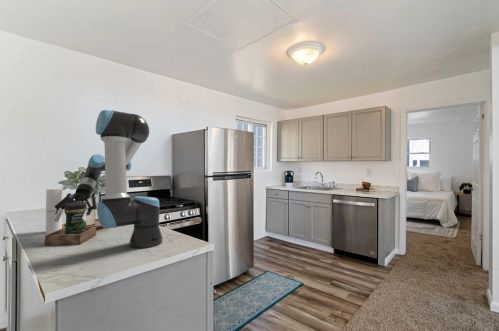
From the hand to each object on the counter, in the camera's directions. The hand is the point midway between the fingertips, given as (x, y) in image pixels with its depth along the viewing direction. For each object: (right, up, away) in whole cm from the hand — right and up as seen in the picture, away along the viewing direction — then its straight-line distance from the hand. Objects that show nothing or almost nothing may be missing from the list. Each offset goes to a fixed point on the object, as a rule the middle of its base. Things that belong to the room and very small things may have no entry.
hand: (69, 220), depth 122 cm
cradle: (-1, -11, +3) cm, 11 cm away
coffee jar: (+1, -10, +3) cm, 11 cm away
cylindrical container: (-22, -11, +17) cm, 29 cm away
